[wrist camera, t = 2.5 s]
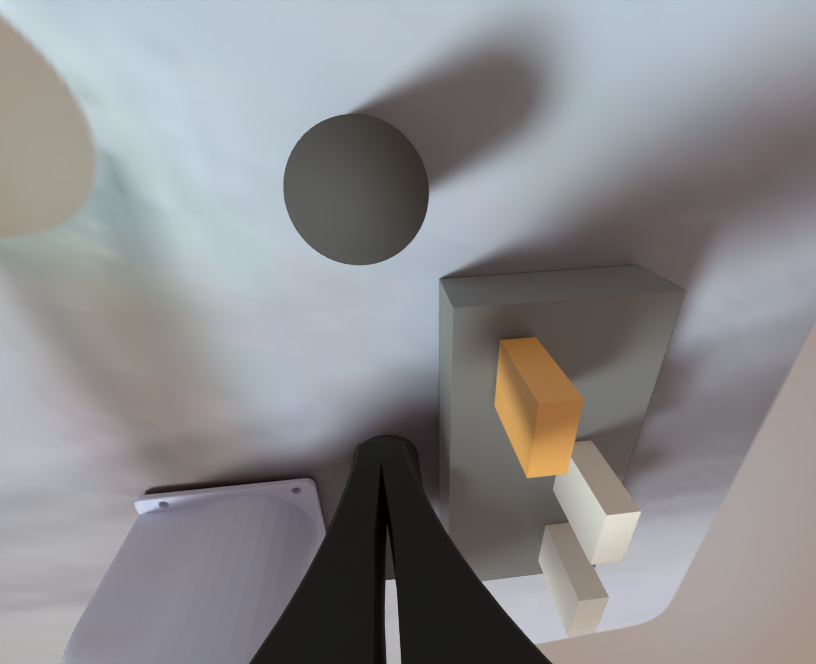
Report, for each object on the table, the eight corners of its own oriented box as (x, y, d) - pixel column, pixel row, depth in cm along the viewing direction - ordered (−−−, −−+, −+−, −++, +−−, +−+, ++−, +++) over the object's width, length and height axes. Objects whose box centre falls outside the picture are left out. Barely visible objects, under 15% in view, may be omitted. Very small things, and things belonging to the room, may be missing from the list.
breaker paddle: (494, 405, 16) (527, 477, 13) (499, 339, 15) (538, 403, 12) (526, 402, 17) (567, 473, 13) (535, 337, 15) (584, 399, 12)
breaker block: (439, 537, 26) (461, 664, 20) (439, 278, 17) (479, 365, 11) (571, 522, 26) (632, 640, 20) (637, 264, 18) (777, 339, 12)
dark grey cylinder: (318, 222, 15) (297, 269, 11) (303, 117, 14) (269, 117, 9) (409, 216, 16) (429, 260, 11) (406, 113, 14) (427, 110, 9)
